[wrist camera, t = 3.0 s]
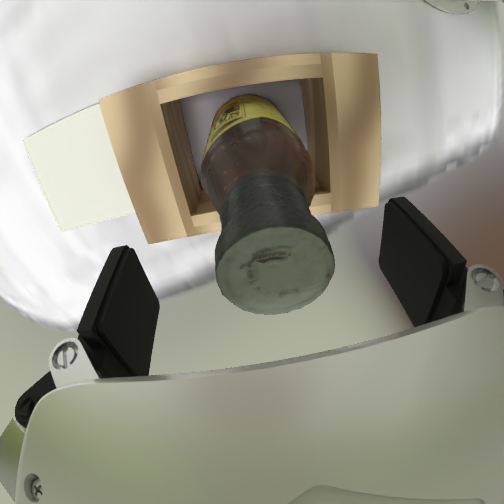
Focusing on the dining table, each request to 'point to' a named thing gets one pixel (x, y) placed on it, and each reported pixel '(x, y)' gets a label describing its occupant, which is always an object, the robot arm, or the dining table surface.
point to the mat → (79, 170)
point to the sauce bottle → (264, 210)
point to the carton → (234, 75)
